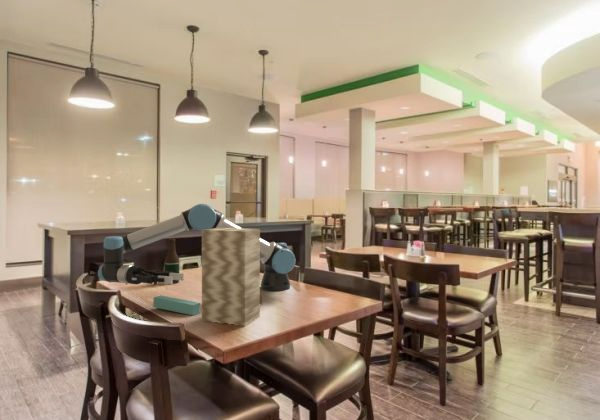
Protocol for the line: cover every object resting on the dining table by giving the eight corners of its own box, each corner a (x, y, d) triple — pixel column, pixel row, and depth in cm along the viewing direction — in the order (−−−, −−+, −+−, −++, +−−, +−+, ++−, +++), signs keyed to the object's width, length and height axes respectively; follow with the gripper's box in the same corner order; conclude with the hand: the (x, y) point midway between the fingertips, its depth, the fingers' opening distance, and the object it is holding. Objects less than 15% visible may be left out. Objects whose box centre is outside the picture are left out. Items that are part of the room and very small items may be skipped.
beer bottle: (174, 284, 205) (174, 239, 204) (161, 283, 206) (161, 239, 206) (182, 281, 212) (182, 238, 212) (169, 280, 214) (169, 237, 213)
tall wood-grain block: (202, 320, 144) (201, 229, 143) (219, 312, 155) (219, 227, 154) (245, 326, 138) (245, 231, 137) (259, 316, 149) (259, 229, 148)
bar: (153, 306, 158) (153, 297, 158) (160, 304, 162) (160, 295, 161) (192, 315, 150) (193, 305, 150) (199, 312, 154) (199, 303, 154)
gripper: (147, 279, 171) (192, 283, 163) (113, 288, 153) (161, 293, 145) (147, 262, 171) (191, 265, 163) (113, 269, 153) (161, 273, 145)
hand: (177, 278), depth 154 cm, fingers open, 6 cm apart
